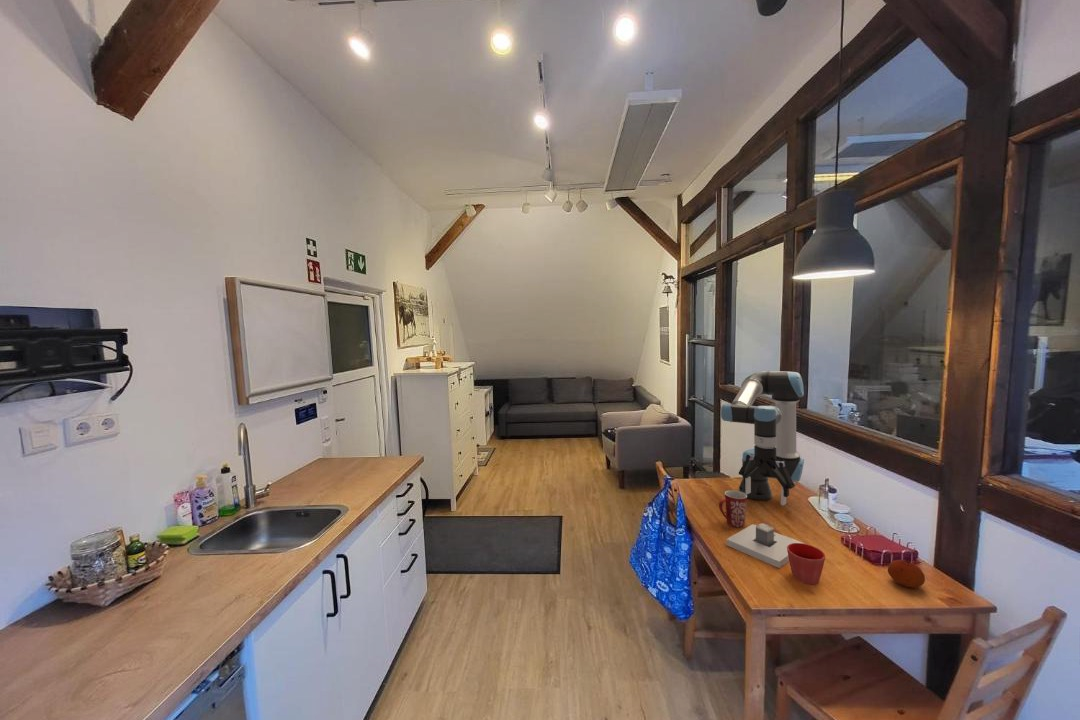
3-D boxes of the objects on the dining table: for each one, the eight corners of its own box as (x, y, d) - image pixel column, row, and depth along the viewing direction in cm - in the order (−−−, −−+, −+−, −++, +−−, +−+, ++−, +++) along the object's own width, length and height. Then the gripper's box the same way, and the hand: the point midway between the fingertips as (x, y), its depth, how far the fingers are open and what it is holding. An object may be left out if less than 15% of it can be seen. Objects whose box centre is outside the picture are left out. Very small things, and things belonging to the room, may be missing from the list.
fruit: (931, 589, 129) (932, 565, 129) (910, 594, 127) (910, 570, 127) (901, 573, 138) (902, 551, 137) (881, 578, 136) (881, 555, 135)
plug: (762, 542, 160) (762, 522, 160) (773, 547, 156) (774, 527, 156) (755, 545, 158) (755, 526, 158) (767, 550, 154) (767, 530, 154)
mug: (737, 517, 182) (737, 489, 181) (752, 527, 173) (751, 496, 172) (713, 521, 180) (712, 492, 179) (726, 531, 171) (725, 500, 170)
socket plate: (752, 529, 171) (752, 523, 171) (804, 549, 155) (804, 542, 154) (726, 545, 160) (726, 538, 160) (779, 568, 143) (779, 561, 143)
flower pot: (826, 591, 130) (826, 563, 129) (786, 581, 136) (786, 554, 135) (824, 574, 139) (824, 547, 138) (786, 565, 145) (787, 539, 144)
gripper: (729, 441, 164) (729, 491, 166) (795, 455, 144) (795, 512, 146) (739, 437, 169) (739, 486, 170) (804, 451, 148) (804, 506, 150)
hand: (765, 498), depth 158 cm, fingers open, 13 cm apart
